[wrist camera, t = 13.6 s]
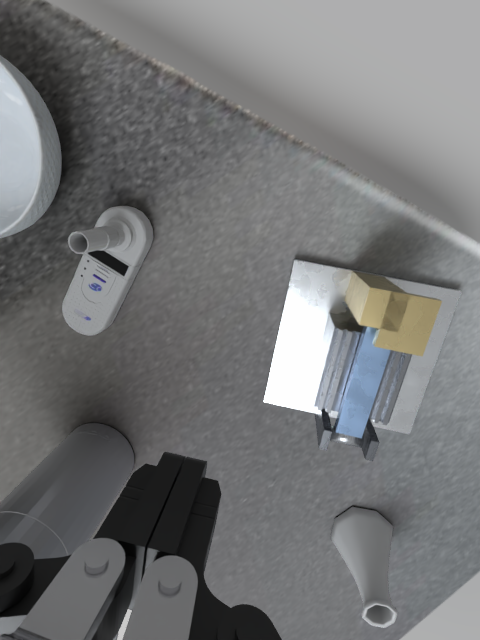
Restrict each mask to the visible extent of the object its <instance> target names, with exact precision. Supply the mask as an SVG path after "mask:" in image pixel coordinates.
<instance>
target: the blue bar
mask: <svg viewBox="0 0 480 640" xmlns="http://www.w3.org/2000/svg"><path fill="white" fill-rule="evenodd" d="M376 330H377V328H373V327H368V326H364V328H363V331H362V335H361V338H360V342H359V345H358V348H357V352H356V355H355V358H354V362H353V365H352V368H351V372H350V375H349V379H348V382H347V385H346V389H345V392H344V395H343V399H342V402H341V405H340V409H339V412H338V415H337V419H336V422H335V426H332V427H331V429H332V434H331V437H330V441H333V442H338V443H342V444H347V445H351V446H355V447H360V448H361V447H362V445H363V442H364V434H363V433H364V430H365V427H366V424H367V421H368V418H369V415H370V412H371V409H372V406H373V403H374V400H375V397H376V394H377V391H378V388H379V385H380V382H381V379H382V375H383V372H384V369H385V366H386V363H387V360H388V357H389V354H390V351H391V350H388V349H383V348H378V347H374V345H373V340H374V336H375V333H376Z"/></svg>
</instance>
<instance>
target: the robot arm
mask: <svg viewBox="0 0 480 640" xmlns="http://www.w3.org/2000/svg"><path fill="white" fill-rule="evenodd" d="M133 467H134V453H133V450H132V447H131V446H130V444H129V442H128V441H127V439H126V438H125V437H124V436H123V435H122V434H121V433H119V432H118V431H117V430H115V429H113V428H112V427H110V426H107V425H104V424H99V423H87V424H84V425H81V426H79V427H77V428H76V429H75V430H74V431H73V432H72V433H71V434H70V435H69V436H68V437H66V438H65V439H64V440H63V441H62V442H61V443H60V444H59V445H58V446H57V447H56V448H55V449H54V450H53V451H52V452H51V453H50V454H49V455H48V456H47V457H46V458H45V459H44V460H43V461H42V462H41V463H40V464H39V465H38V466H37V467H36V468H35V469H34V470H33V471H32V472H31V473H30V474H29V475H28V476H27V477H26V478H25V479H24V480H23V481H22V482H21V483H20V484H19V485H18V486H17V487H16V488H15V489H14V490H13V491H12V492H11V493H10V494H9V495H8V496H7V497H6V498H5V499H4V500H3V501H2V502H1V503H0V640H117V636H118V631H119V629H120V627H121V624H122V622H123V619H124V617H125V614H126V612H127V609H130V610H132V613H131V615H130V619H129V622H128V625H127V628H126V631H125V634H124V637H123V640H282V639H281V638H280V636H279V634H278V632H277V630H276V629H275V627H274V625H273V623H272V622H271V620H270V619H269V617H268V616H267V615H266V614H265V613H264V612H263V611H261V610H260V609H258V608H257V607H254V606H252V605H247V604H241V605H237V606H234V607H232V608H230V607H228V606H227V605H225V604H224V603H222V602H221V601H220V600H218V599H217V598H216V597H215V596H214V595H213V594H212V593H211V592H210V590H209V589H208V587H207V585H206V583H205V579H204V571H205V567H206V563H207V558H208V554H209V550H210V546H211V542H212V538H213V533H214V529H215V524H216V519H217V514H218V508H219V503H220V498H221V491H220V487H219V483H218V481H217V480H212V479H208V478H205V474H206V468H207V461H203V460H199V459H194V458H190V457H185V456H181V455H177V454H173V453H169V452H164V454H163V456H162V457H161V459H160V461H159V463H158V465H157V466H153V465H149V464H145V465H143V466H142V467H141V468H139V469H138V470H137V471H135V472H134V473H133V474H132V476H131V478H130V479H129V481H128V483H127V484H126V487H125V488H124V489H123V491H122V493H121V494H120V497H119V498H118V499H117V501H116V503H115V504H114V506H113V508H112V509H111V511H110V512H109V514H108V516H107V517H106V519H105V521H104V522H103V524H102V526H101V527H100V529H99V531H98V532H97V534H96V536H95V537H94V538H93V539H92V540H90V541H89V539H90V538H91V536H92V535H93V533H94V531H95V530H96V528H97V526H98V525H99V523H100V522H101V520H102V518H103V517H104V515H105V514H106V512H107V510H108V509H109V507H110V506H111V504H112V502H113V501H114V499H115V497H116V496H117V494H118V493H119V491H120V490H121V488H122V486H123V485H124V483H125V482H126V480H127V478H128V477H129V475H130V474H131V472H132V469H133Z"/></svg>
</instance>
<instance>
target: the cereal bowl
mask: <svg viewBox="0 0 480 640" xmlns="http://www.w3.org/2000/svg"><path fill="white" fill-rule="evenodd" d="M61 160H62V156H61V146H60V141H59V137H58V133H57V130H56V126H55V124H54V121H53V119H52V116H51V114H50V112H49V110H48V108H47V106H46V104H45V102H44V101H43V99H42V98H41V96H40V94H39V93H38V91H37V90H36V89H35V88H34V86H33V85H32V84H31V82H30V81H29V80H28V79H27V78H26V77H25V75H24V74H22V73H21V72H20V71H19V70H18V69H17V68H16V67H15V66H14V65H12V64H11V63H10V62H9V61H8V60H6V59H5V58H3V57H2V56H1V55H0V238H3V237H7V236H10V235H13V234H16V233H17V232H20V231H22V230H24V229H26V228H28V227H29V226H31V225H33V224H34V223H35V222H36V221H37V220H38V219H40V217H41V216H42V215H43V214H44V213H45V212H46V211H47V209H48V207H49V206H50V205H51V203H52V201H53V199H54V198H55V195H56V191H57V190H58V186H59V183H60V177H61V170H62V169H61V165H62V161H61Z"/></svg>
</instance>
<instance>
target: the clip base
mask: <svg viewBox="0 0 480 640" xmlns="http://www.w3.org/2000/svg"><path fill="white" fill-rule="evenodd" d="M352 271H356V272H361V273H367V274H372V275H377V276H382V277H385V278H386V279H388V280H389V281H391V282H392V283H394V284H395V285H396V286H398V287H399V288H401V289H402V290H404V291H405V292H407V293H411V294H416V295H421V296H426V297H431V298H437V299H439V300H441V301H442V303H441V306H440V309H439V312H438V314H437V317H436V320H435V323H434V326H433V329H432V331H431V334H430V337H429V340H428V343H427V346H426V348H425V351H424V354H423V357H422V356H417V355H413V354H408V353H403V352H398V351H393V350H391V351H390V354H389V357H388V360H387V363H386V366H385V369H384V372H383V375H382V379H381V382H380V385H379V388H378V391H377V394H376V397H375V400H374V403H373V406H372V409H371V412H370V415H369V418H368V421H367V424H366V427H365V430H364V433H363V434H364V442H363V445H362V450H363V454H364V457H365V459H366V460H370V461H373V460H374V457H375V454H376V451H377V448H378V445H379V440H378V438H377V435H376V433H375V430H374V427H379V428H383V429H388V430H392V431H397V432H401V433H406V434H410V432H411V429H412V426H413V423H414V421H415V418H416V415H417V413H418V410H419V407H420V404H421V402H422V399H423V396H424V394H425V391H426V388H427V385H428V383H429V380H430V377H431V375H432V372H433V369H434V366H435V364H436V361H437V358H438V356H439V353H440V350H441V347H442V345H443V342H444V339H445V337H446V334H447V331H448V328H449V326H450V323H451V320H452V318H453V315H454V312H455V309H456V307H457V304H458V301H459V299H460V296H461V293H462V291H460V290H458V289H452V288H447V287H442V286H437V285H431V284H426V283H421V282H415V281H410V280H405V279H399V278H394V277H389V276H384V275H378V274H373V273H368V272H362V271H357V270H352V269H347V268H341V267H336V266H331V265H325V264H320V263H315V262H309V261H304V260H299V259H294V263H293V267H292V272H291V277H290V281H289V286H288V290H287V295H286V300H285V304H284V309H283V314H282V318H281V323H280V328H279V332H278V337H277V341H276V346H275V351H274V355H273V360H272V365H271V369H270V374H269V379H268V383H267V388H266V392H265V397H264V402H266V403H271V404H275V405H280V406H284V407H289V408H293V409H298V410H302V411H307V412H311V413H315V419H316V428H317V436H318V445H319V449H322V450H327V447H328V444H329V440H330V437H331V434H332V429H331V424H330V419H329V417H334V418H337V415H338V412H339V409H340V405H341V402H342V399H343V395H344V392H345V389H346V385H347V382H348V379H349V375H350V372H351V368H352V365H353V362H354V358H355V355H356V352H357V348H358V345H359V342H360V338H361V335H362V331H363V328H364V326H363V325H359V324H358V322H357V320H356V319H355V317H354V315H353V314H352V312H351V310H350V309H349V307H348V306H347V304H346V302H345V301H344V300H345V296H346V292H347V289H348V285H349V281H350V278H351V274H352ZM373 426H374V427H373Z"/></svg>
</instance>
